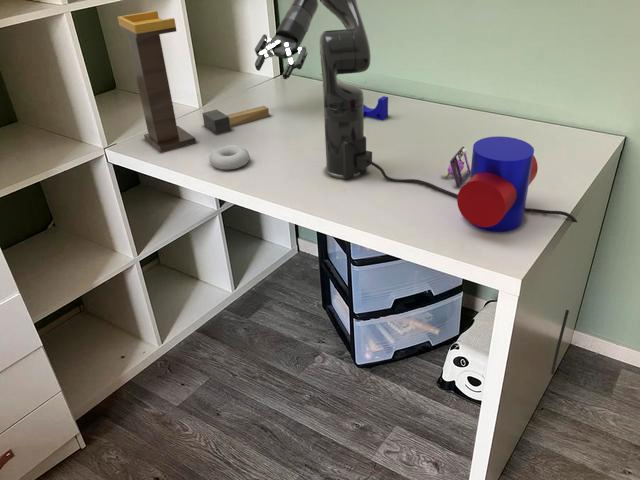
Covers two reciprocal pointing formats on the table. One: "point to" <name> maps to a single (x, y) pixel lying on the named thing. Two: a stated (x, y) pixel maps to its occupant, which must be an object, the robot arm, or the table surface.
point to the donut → (229, 157)
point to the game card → (458, 167)
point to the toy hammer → (232, 118)
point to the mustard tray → (145, 22)
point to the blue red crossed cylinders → (498, 183)
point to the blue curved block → (378, 109)
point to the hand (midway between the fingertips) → (270, 73)
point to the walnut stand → (156, 91)
